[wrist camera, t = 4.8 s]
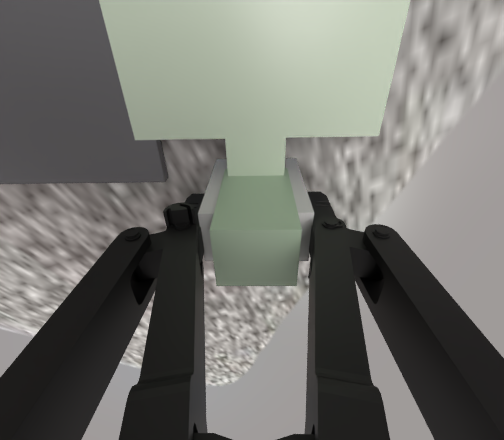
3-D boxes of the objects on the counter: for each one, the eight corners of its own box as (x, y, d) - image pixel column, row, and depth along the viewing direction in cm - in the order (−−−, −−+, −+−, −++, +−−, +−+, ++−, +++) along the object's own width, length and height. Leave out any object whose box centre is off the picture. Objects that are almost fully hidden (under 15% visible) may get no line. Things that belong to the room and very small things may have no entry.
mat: (-6, 179, 25) (-15, 184, 24) (-259, -251, 13) (-295, -271, 12) (168, 177, 24) (165, 181, 24) (75, -270, 12) (62, -292, 11)
